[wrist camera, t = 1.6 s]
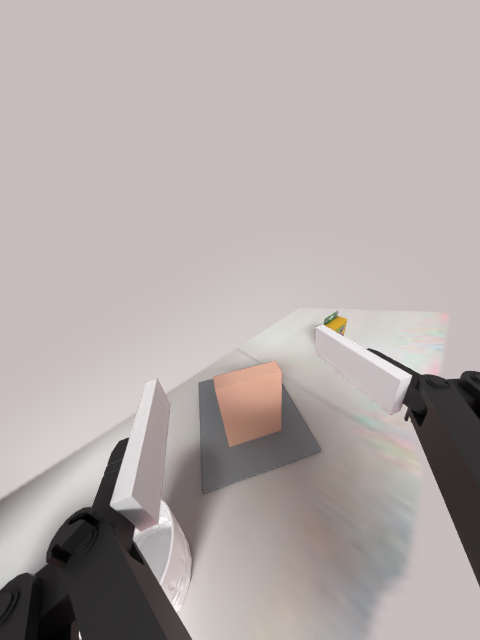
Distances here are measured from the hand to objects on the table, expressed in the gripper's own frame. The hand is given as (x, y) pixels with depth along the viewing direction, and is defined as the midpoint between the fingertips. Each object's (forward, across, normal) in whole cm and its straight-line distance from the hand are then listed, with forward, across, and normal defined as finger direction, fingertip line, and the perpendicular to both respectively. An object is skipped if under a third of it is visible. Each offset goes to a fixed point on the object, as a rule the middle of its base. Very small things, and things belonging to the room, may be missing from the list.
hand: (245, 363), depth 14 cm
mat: (+14, +1, -25) cm, 29 cm away
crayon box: (+24, +30, -26) cm, 47 cm away
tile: (+9, +1, -24) cm, 26 cm away
